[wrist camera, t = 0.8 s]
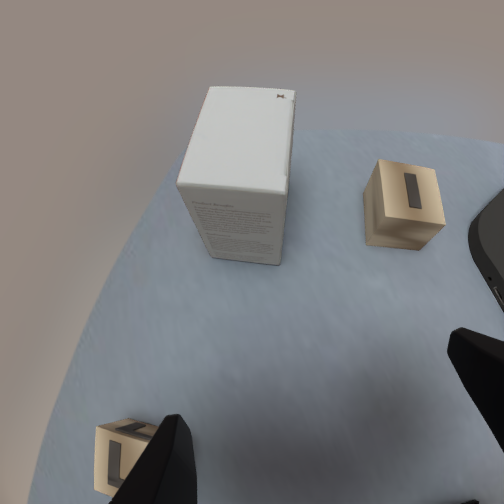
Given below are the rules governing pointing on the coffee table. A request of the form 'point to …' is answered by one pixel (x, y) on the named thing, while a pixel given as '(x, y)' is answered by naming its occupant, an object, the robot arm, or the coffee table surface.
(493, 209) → the media streaming box
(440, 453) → the coffee table surface
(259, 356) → the coffee table surface
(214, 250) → the small box
